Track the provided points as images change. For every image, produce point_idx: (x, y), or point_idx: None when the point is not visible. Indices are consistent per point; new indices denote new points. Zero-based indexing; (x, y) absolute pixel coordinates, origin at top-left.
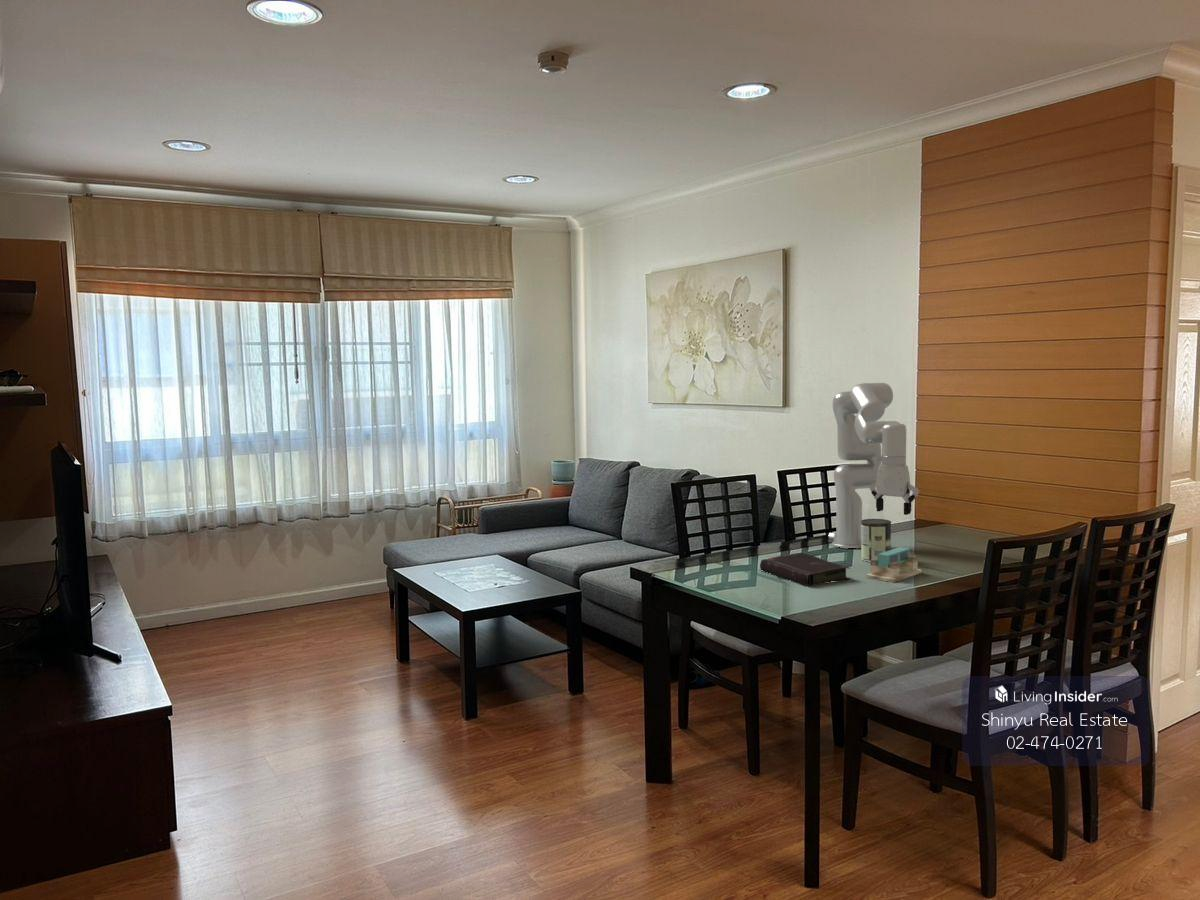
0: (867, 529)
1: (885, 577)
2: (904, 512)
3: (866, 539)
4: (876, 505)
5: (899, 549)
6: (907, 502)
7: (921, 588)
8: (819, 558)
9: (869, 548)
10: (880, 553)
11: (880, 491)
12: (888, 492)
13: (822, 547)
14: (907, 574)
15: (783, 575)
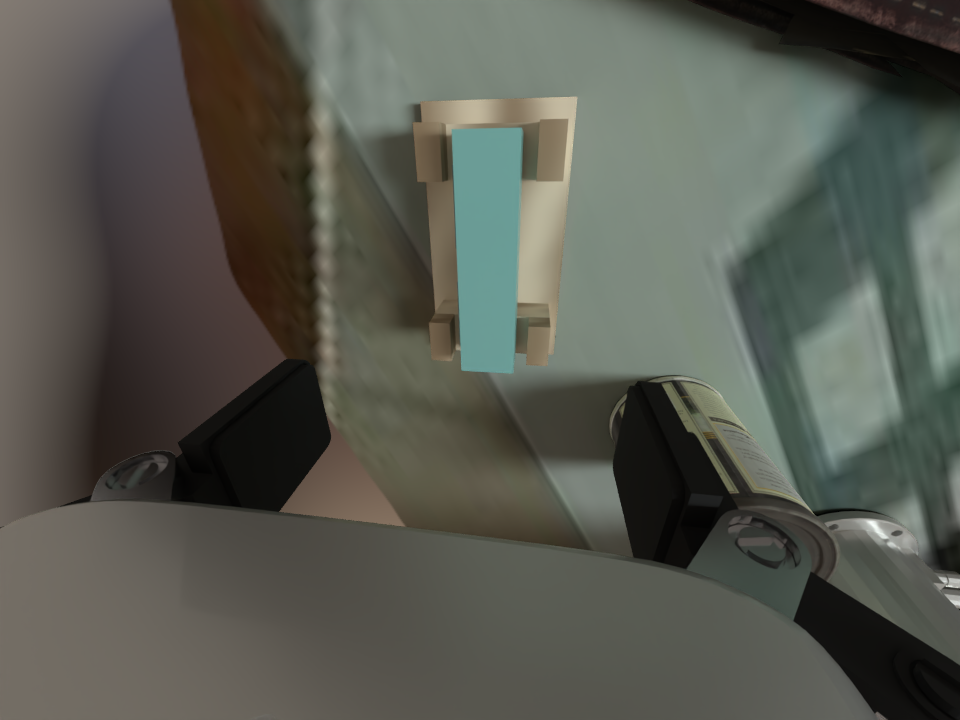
0: (754, 478)
1: (473, 113)
2: (286, 367)
3: (733, 438)
4: (698, 449)
5: (487, 326)
6: (163, 462)
7: (289, 93)
8: (951, 30)
9: (697, 410)
10: (518, 158)
11: (667, 652)
12: (350, 596)
13: (949, 494)
14: (433, 242)
15: None
